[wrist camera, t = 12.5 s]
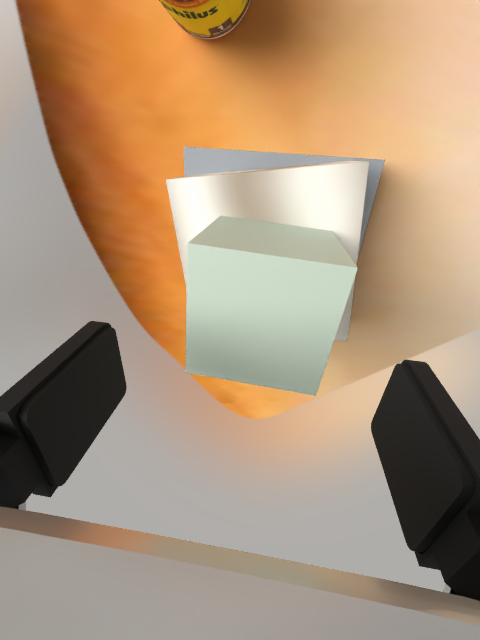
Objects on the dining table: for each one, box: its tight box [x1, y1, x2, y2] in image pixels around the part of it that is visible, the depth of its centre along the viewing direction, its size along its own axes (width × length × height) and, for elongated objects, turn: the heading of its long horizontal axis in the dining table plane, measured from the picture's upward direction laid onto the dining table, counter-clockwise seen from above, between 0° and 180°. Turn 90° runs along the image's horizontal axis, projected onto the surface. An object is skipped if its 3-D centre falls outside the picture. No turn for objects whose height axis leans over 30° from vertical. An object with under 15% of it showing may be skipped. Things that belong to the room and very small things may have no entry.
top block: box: [166, 161, 369, 340], centre depth 18 cm, size 10×10×4 cm
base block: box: [184, 147, 385, 260], centre depth 22 cm, size 12×12×4 cm
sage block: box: [186, 215, 358, 396], centre depth 14 cm, size 6×6×6 cm
